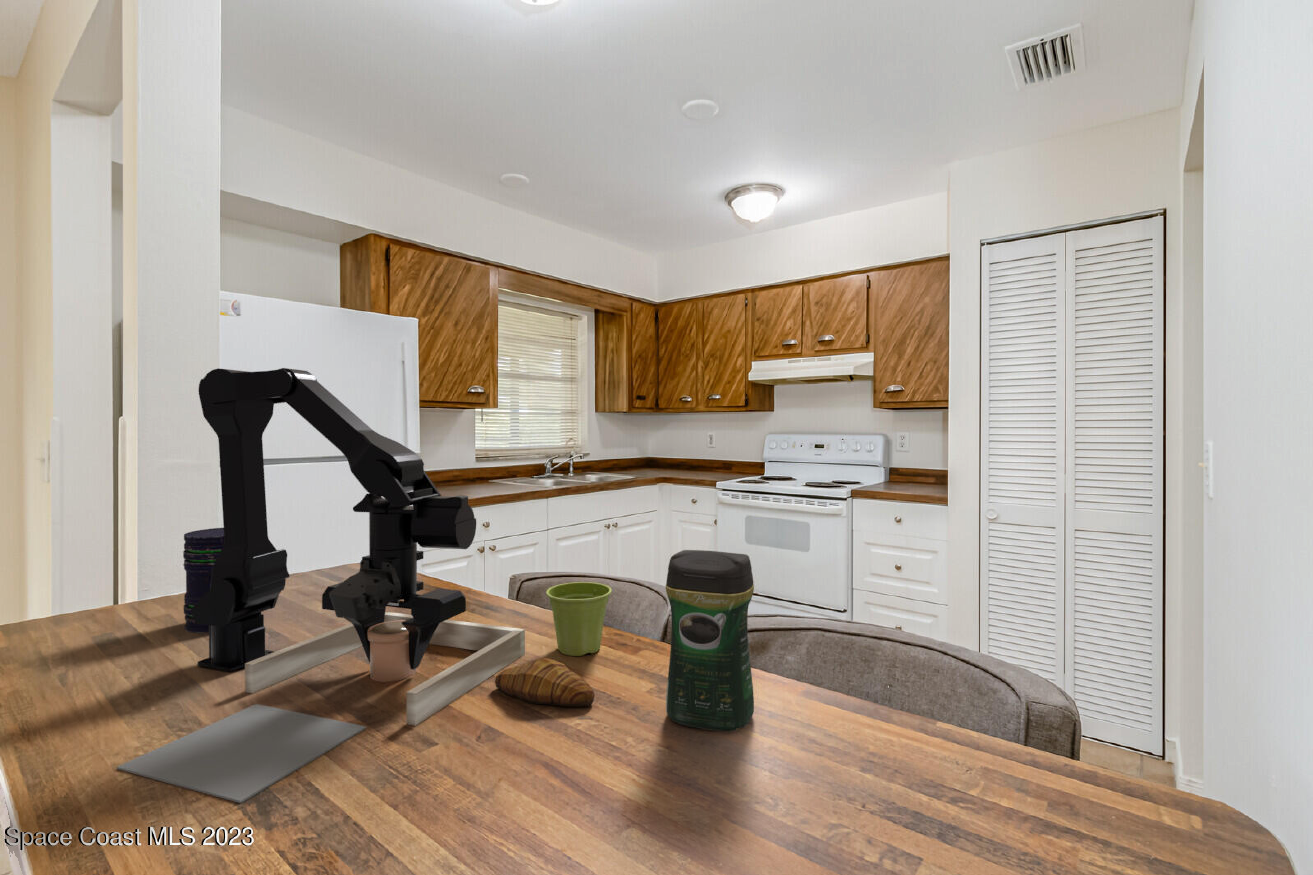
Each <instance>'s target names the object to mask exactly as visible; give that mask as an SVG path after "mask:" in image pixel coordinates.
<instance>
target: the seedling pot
mask: <svg viewBox="0 0 1313 875" xmlns="http://www.w3.org/2000/svg"><path fill="white" fill-rule="evenodd" d="M404 621H406V620H396V621H388V622H383V623H379V624H376V625H374V626H372V627H370V628H369V629H368V640H369V641H370V662H369V664H370V665H369V667H370V669H369V670H370V672H369V673H370V674H369V677H370V679H371V680H372V681H375V682H378V683H379V682H381V683H389V682H390V683H391V682H397V681H402V680H406V679H409V678H410V677H412V676H414V675H415V674H416V673H417V671H418V670H417V669H418V668H416V669H414V670H413V669H411V668H410V661H409V632H408V630H407V629H406V628H405V627H404V626H403V625H402V622H404Z"/></svg>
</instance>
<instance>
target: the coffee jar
mask: <svg viewBox="0 0 1313 875" xmlns="http://www.w3.org/2000/svg"><path fill="white" fill-rule="evenodd" d="M668 562H669V563H668V567H667V568H668V569H667V575H666V581H665V582H666V583H665V592H666V595H667V599H668V601H669V606H670V613H671V614H670V616H671V618H670V619H671V635H670V636H671V638H670V651H669V653H670V654H669V665H668V673H667V674H668V675H667V683H666V698H665V700H666V701H665V711H666V714H667V717H668V718H669V719H671V721H673V722H674V723H677V724H680V725H684V726H687V727H692V728H698V729H703V730H711V731H717V732H727V733H729V732H734V731H737V730H739V729H742V728H744V727H745V726H747V725H748V724H749V723H750V721H751V720H752V717H753V714H754V711H755V698H754V685H753V684H754V683H753V676H752V675H753V674H752V665H751V658H750V647H749V645H750V644H749V635H748V634H749V632H748V631H749V630H748V625H749V624H748V616H749V615H748V614H749V611H748V610H749V606H750V603H751V600H752V598H753V596H754V591H755V584H754V577H753V572H752V568H753V567H752V564H751V563H752V562H751V559H750V557H749V555H748V554H745V553H737V552H726V551H725V552H724V551H715V550H702V549H700V550H699V549H683V550H680V551H678V552H676V553H674V554H673V555H671V557H670V559H669V561H668Z"/></svg>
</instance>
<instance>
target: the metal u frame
mask: <svg viewBox="0 0 1313 875" xmlns="http://www.w3.org/2000/svg"><path fill="white" fill-rule="evenodd" d="M411 618H413V616H412V615H411V614H406V613H400V612H391V611H385V617H384V622H388V621H396V620H408V619H411ZM429 645H436V646H443V647H444V646H445V647H450V648H456V649H457V648H458V649H463V650H464V649H465V650H472V651H476V652H474V653H472V654H470V655H469V656H467V657H466V658H464V659H461V660H460V661H458V662H457V663H455V664H453V665H452V666H449V667H448V668H446V669H444V670H443V671H441V672H438V673H437V674H436V675H434V676H432V677H430V678H429V679H427V680H425V681H424V682H422V683H420V684H418V685H416V686H415V687H413V688H411V689H409V690H408V691H406V725H409V726H414V727H415V726H418V725H419V724H420V723H422V722H424V721H425V720H427V719H428V718H430V717H431V716H433V715H434V714H436V713H438V712H439V711H441V709H443V708H445V707H447V706H449V705H450V704H451V703H453V702H454V701H455V700H457V699H458V698H460V697H462V696H463V695H465V694H466V693H468V692H469V691H471V690H472V689H474V688H475V687H477V686H478V685H480V684H482V683H483V682H484V681H486V680H488V679H489V678H491V677H492V676H493V675H495V674H498V672H499V671H500V672H501V670H502V669H504V668H506V667H507V666H509V665H510V664H512V663H514V662H515V661H516V660H517V659H519V658H521V657H522V656H525V654H526V629H524V628H519V627H518V628H516V627H508V626H502V625H494V624H485V623H478V622H468V621H463V620H462V621H461V620H454V619H453V620H452V619H448V620H445V621H443V622H441V623H439V625H438V627H437V629H436V630H435V632H434V634H433V636H432V638H431V640H430V642H429ZM361 647H363V645H362V643H361V640H360V638H359V635H358V633H357V631H356V629H355V627H354V625H353V624H352V623H351V622H350V623H348V624H345V625H343V626H341V627H337V628H335V629H332V630H330V631H327V632H324V633H322V634H319V635H317V636H313V637H311V638H309V639H305V640H304V641H303V640H302V641H301V642H298V643H295V644H293V645H290V646H287V647H285V648H281V649H279V650H277V651H274V653H271V654H269V655H266V656H263V657H261V658H258V659H255V660H253V661H250V662H248V663H245V667H244V692H245V693H247V694H255V693H257V692H260V691H261V690H264V689H266V688H269V687H271V686H273V685H276V684H278V683H280V682H283V681H284V680H285V681H286V680H287V679H289V678H292V677H294V676H296V675H298V674H301V673H303V672H306V671H308V670H311V669H312V668H315V667H318V666H320V665H322V664H324V663H327V662H329V661H331V660H334V659H335V658H338V657H342V656H343V655H345V654H347V653H350V652H352V651H354V650H356V649H357V650H358V649H359V648H361Z"/></svg>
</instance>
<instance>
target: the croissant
mask: <svg viewBox="0 0 1313 875" xmlns="http://www.w3.org/2000/svg"><path fill="white" fill-rule="evenodd" d="M494 684H495V687H496V688H497V689H498V690H499V691H501V692H503V693H504V694H506V695H508V696H510V697H514V698H518V699H520V700H522V701H526V702H528V703H531V704H537V705H547V706H549V705H550V706H557V707H569V708H580V707H581V708H582V707H588V706H591V705H593V702H594V701H595V691H594V689H593V687H592V686H590V684H589V683H588V681H586V680H585V678H582V677H581V676H580V675H578V674H577V673H576V672H574V671H573V670H570V669H569V668H568V667H567V666H566V665H565V664H564V663H562V662H560V661H557V660H554V659H551V658H546V657H541V658H540V657H539V658H538V659H534V660H531V661H529V662H527V663H525V664H520V665H516V666H511V667H509V668H506V669H504V670H502V671H500V672H499V673H497V674H496V676H495V680H494Z"/></svg>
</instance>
